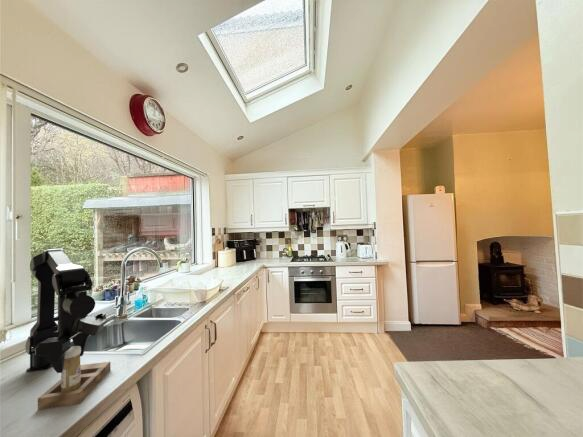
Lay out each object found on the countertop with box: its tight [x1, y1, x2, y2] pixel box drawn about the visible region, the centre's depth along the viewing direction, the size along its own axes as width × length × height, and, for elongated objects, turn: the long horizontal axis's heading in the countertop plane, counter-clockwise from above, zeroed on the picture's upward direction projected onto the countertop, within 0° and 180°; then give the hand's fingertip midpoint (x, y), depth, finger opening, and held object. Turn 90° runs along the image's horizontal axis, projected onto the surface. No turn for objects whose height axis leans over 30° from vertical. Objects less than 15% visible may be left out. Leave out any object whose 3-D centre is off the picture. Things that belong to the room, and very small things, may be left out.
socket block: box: [37, 361, 111, 411], centre depth 79 cm, size 10×17×3 cm, turn 11°
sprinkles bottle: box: [60, 345, 81, 392], centre depth 75 cm, size 5×5×14 cm
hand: (70, 363), depth 75 cm, fingers open, 9 cm apart
